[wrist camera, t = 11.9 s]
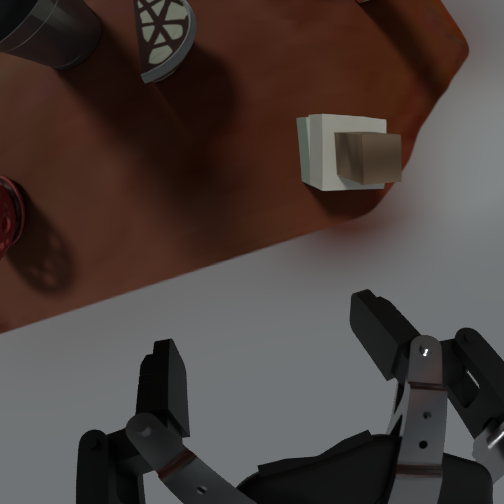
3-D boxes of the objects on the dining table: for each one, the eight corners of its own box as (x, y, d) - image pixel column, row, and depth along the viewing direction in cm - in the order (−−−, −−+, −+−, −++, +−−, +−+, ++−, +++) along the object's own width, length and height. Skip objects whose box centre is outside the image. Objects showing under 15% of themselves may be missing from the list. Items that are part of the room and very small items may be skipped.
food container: (203, 82, 30) (205, 64, 21) (156, 93, 30) (141, 80, 21) (189, 5, 25) (189, -29, 16) (144, 16, 24) (129, -15, 15)
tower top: (308, 115, 31) (321, 114, 27) (369, 119, 32) (386, 119, 29) (309, 184, 35) (322, 190, 31) (367, 182, 36) (383, 188, 33)
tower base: (295, 118, 35) (305, 117, 31) (352, 116, 36) (366, 116, 32) (300, 180, 39) (311, 186, 35) (355, 174, 40) (369, 179, 36)
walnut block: (334, 132, 29) (361, 134, 23) (370, 131, 29) (400, 135, 24) (336, 174, 31) (363, 185, 25) (371, 171, 31) (401, 181, 26)
